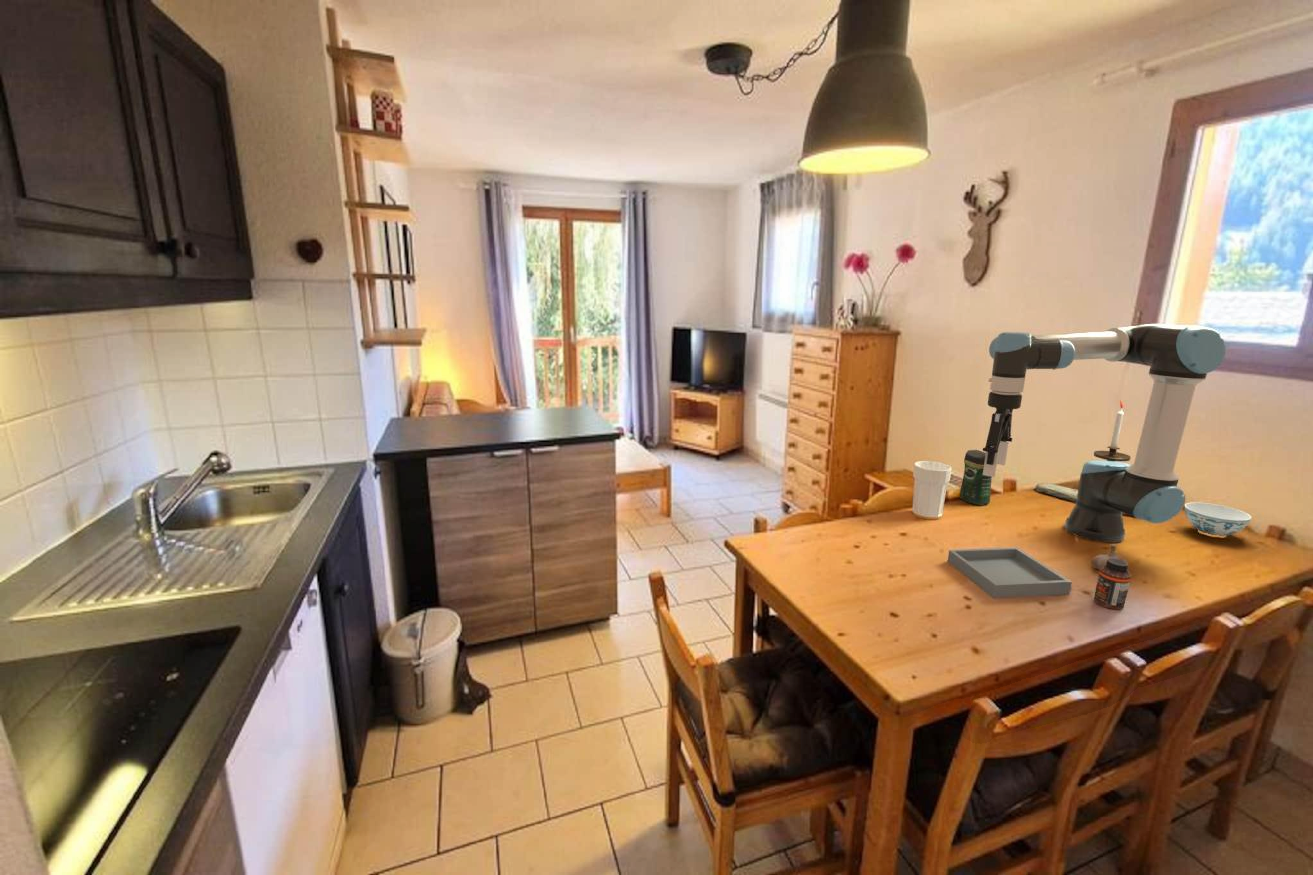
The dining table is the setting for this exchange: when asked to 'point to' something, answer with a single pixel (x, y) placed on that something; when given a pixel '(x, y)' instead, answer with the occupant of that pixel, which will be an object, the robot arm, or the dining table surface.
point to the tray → (1008, 572)
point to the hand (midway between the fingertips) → (994, 469)
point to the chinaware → (1216, 518)
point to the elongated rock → (1059, 491)
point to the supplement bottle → (1112, 584)
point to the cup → (930, 489)
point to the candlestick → (1114, 443)
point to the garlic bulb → (1104, 558)
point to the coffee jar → (975, 479)
